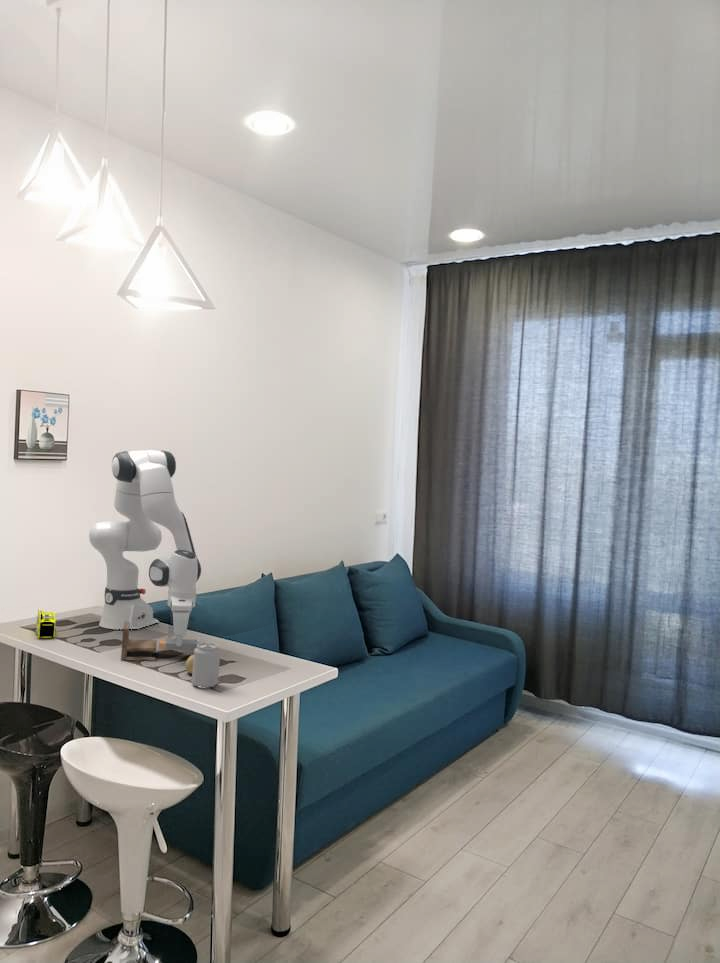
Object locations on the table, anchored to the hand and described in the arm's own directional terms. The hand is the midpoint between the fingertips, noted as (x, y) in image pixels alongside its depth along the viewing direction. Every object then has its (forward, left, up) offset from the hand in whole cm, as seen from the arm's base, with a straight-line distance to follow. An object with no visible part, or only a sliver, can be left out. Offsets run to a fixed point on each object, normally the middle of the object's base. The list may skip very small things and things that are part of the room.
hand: (178, 642), depth 245 cm
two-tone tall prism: (0, 0, -2) cm, 2 cm away
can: (+16, +26, -5) cm, 31 cm away
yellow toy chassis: (+13, -50, -5) cm, 52 cm away
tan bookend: (+8, -9, -5) cm, 13 cm away
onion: (+9, +17, -5) cm, 20 cm away
